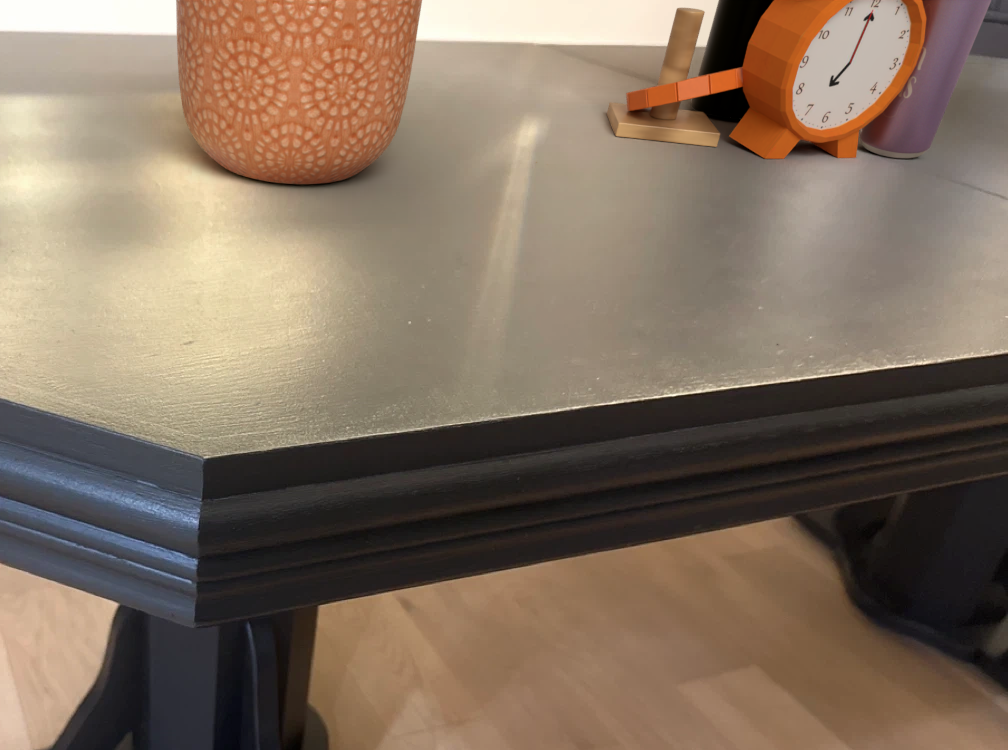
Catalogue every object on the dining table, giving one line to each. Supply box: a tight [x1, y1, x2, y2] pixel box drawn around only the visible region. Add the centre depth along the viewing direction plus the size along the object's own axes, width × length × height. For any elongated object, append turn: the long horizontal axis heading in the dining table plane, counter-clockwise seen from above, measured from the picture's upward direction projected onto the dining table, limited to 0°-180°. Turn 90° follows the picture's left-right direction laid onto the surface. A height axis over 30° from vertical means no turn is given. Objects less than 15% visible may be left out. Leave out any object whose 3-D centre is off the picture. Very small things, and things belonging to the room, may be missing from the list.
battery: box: [690, 0, 774, 120], centre depth 99 cm, size 7×7×20 cm
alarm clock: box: [728, 0, 926, 160], centre depth 86 cm, size 13×6×20 cm, turn 107°
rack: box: [606, 7, 721, 148], centre depth 93 cm, size 9×9×10 cm
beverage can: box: [859, 0, 992, 159], centre depth 90 cm, size 6×6×15 cm
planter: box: [175, 0, 423, 185], centre depth 73 cm, size 17×17×15 cm
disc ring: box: [625, 67, 743, 111], centre depth 94 cm, size 10×10×2 cm
